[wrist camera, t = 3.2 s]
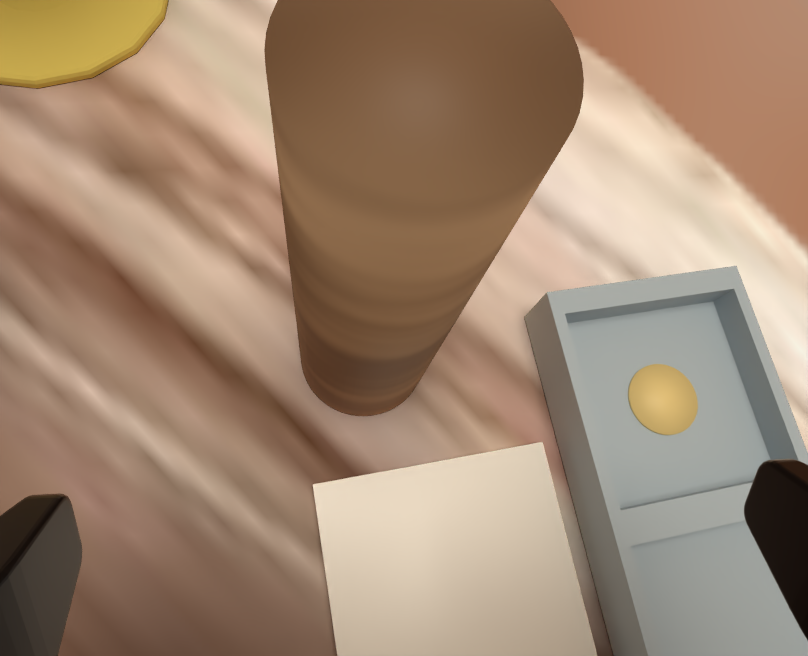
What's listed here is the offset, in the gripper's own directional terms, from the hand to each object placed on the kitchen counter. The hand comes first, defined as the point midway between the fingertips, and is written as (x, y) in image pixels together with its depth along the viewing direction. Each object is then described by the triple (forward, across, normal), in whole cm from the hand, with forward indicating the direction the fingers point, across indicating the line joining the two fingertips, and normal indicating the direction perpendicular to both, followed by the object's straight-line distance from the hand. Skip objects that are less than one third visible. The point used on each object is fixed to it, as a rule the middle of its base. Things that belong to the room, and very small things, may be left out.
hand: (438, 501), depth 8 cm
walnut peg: (+12, 0, +5) cm, 13 cm away
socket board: (+8, -10, +9) cm, 16 cm away
